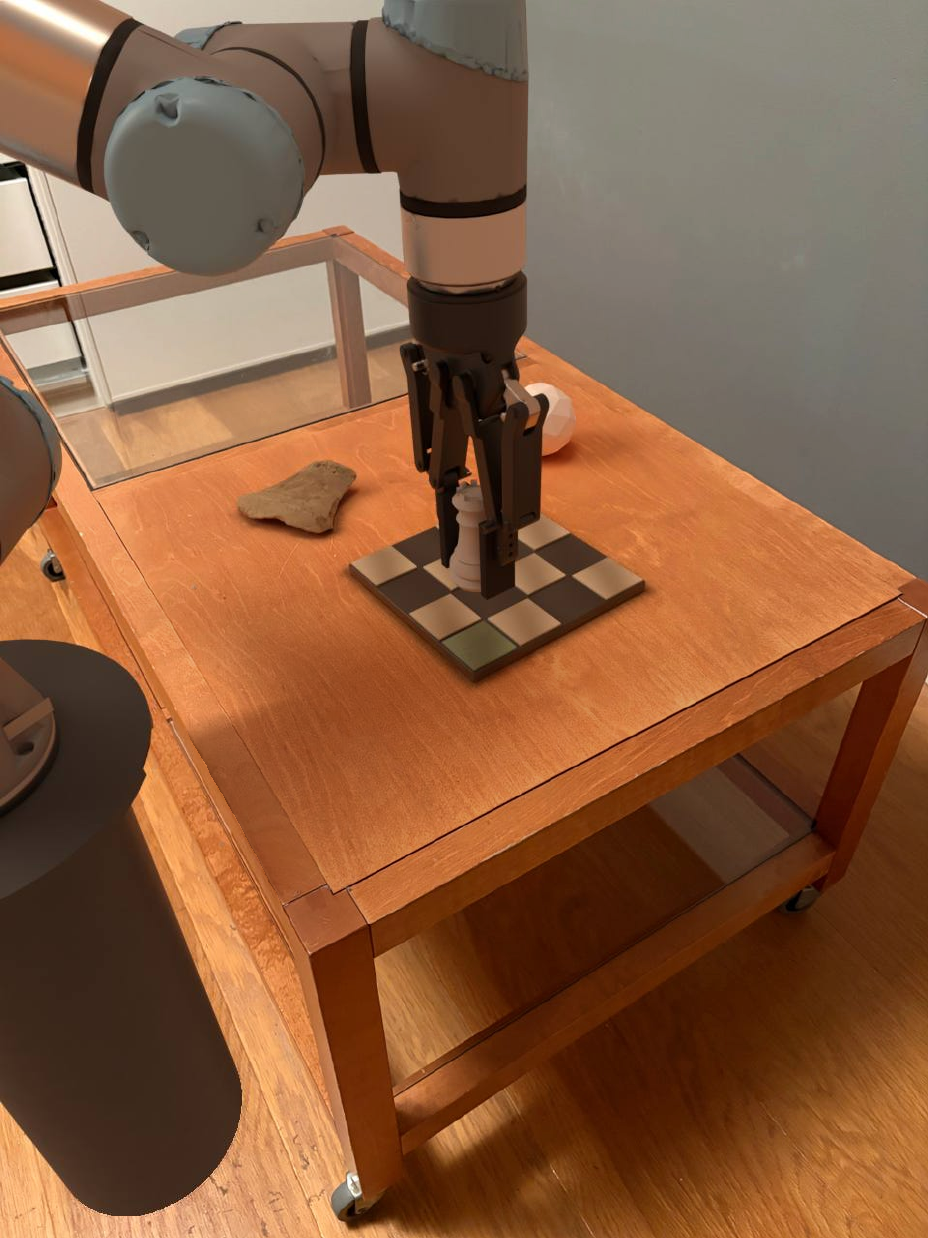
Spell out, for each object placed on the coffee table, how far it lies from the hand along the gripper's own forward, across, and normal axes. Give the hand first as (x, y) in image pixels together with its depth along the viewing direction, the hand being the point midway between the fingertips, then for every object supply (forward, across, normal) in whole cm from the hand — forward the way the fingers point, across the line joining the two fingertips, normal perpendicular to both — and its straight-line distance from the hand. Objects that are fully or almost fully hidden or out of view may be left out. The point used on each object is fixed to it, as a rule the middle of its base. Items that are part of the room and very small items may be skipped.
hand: (477, 574), depth 73 cm
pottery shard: (+8, +30, 0) cm, 31 cm away
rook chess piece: (0, 0, 0) cm, 0 cm away
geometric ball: (+9, +23, -26) cm, 35 cm away
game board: (+8, +7, -7) cm, 13 cm away
